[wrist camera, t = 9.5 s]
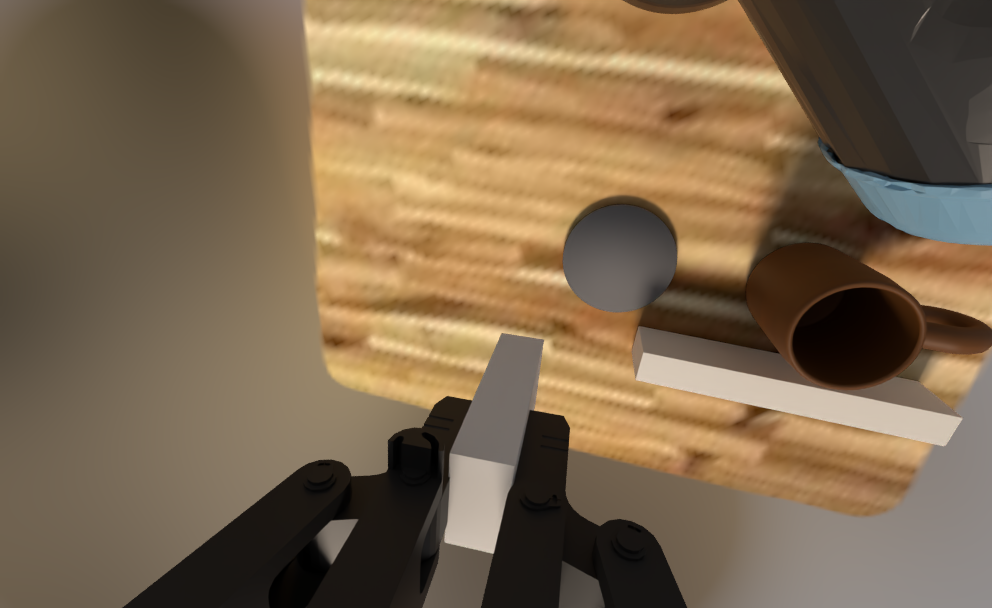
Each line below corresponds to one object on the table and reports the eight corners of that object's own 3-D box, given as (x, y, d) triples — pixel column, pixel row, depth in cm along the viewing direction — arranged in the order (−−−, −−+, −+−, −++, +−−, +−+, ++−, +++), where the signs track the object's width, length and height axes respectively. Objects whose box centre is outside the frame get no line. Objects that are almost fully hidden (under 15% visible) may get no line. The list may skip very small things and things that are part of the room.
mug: (933, 244, 33) (1047, 288, 25) (899, 339, 36) (992, 408, 28) (752, 237, 36) (800, 274, 27) (734, 327, 39) (772, 386, 30)
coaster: (574, 195, 37) (574, 197, 37) (690, 214, 36) (691, 216, 36) (554, 298, 41) (554, 300, 40) (659, 318, 40) (660, 321, 39)
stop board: (638, 325, 40) (643, 352, 36) (918, 381, 37) (962, 418, 33) (631, 351, 41) (635, 379, 37) (903, 407, 38) (944, 446, 34)
